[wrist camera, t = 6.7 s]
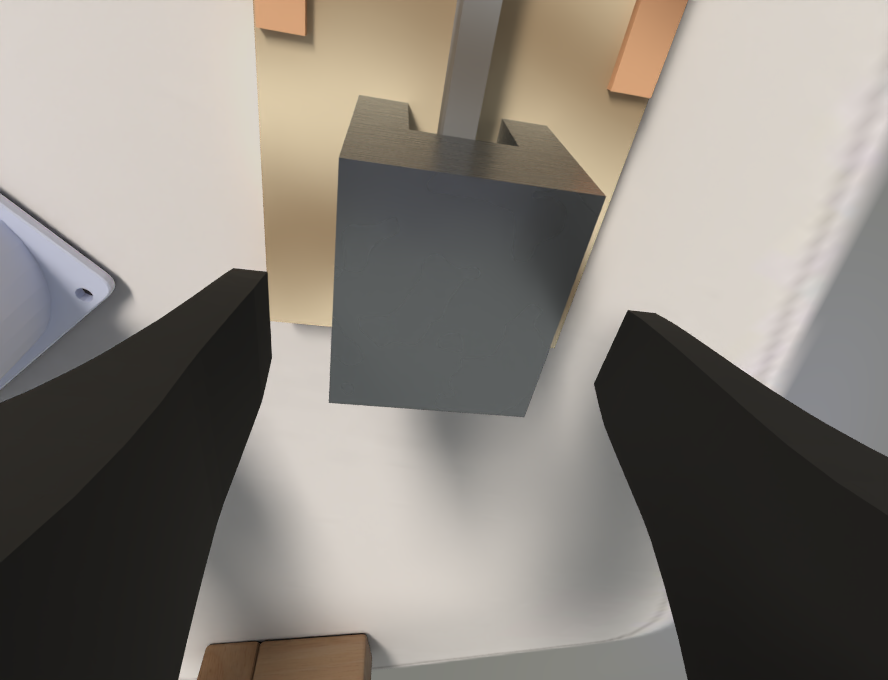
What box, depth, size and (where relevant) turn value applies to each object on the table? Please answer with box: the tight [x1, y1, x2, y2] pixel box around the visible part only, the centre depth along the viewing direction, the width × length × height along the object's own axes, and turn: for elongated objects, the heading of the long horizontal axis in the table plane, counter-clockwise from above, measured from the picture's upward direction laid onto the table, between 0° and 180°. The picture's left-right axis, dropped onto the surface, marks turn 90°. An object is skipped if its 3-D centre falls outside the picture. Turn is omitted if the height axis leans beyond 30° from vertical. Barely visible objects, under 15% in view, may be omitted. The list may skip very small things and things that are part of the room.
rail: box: [253, 0, 688, 348], centre depth 12 cm, size 18×10×4 cm, turn 171°
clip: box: [329, 95, 606, 417], centre depth 13 cm, size 6×5×5 cm
